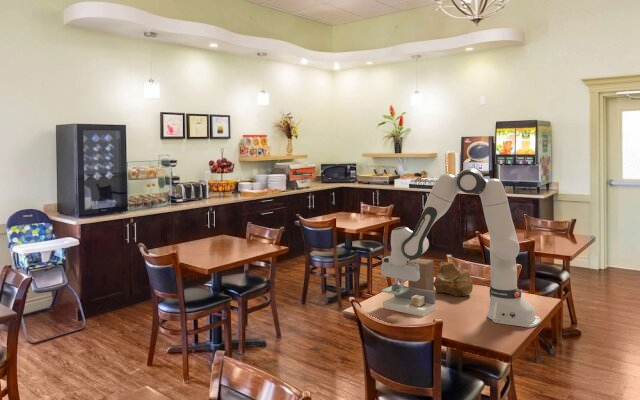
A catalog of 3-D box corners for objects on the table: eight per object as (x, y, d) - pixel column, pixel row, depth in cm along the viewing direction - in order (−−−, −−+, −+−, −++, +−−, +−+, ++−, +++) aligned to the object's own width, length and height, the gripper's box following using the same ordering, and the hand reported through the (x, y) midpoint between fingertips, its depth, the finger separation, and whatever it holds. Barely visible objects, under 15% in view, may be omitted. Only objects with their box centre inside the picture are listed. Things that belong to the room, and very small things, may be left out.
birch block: (424, 310, 237) (424, 296, 236) (419, 313, 234) (419, 298, 233) (416, 308, 240) (415, 294, 239) (411, 311, 236) (411, 297, 236)
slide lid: (409, 290, 244) (409, 282, 243) (399, 295, 236) (399, 287, 235) (392, 286, 250) (392, 279, 250) (381, 291, 242) (381, 284, 242)
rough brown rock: (424, 290, 273) (422, 264, 271) (449, 284, 279) (447, 258, 276) (449, 303, 251) (447, 275, 249) (476, 296, 257) (474, 268, 255)
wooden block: (425, 302, 249) (425, 264, 246) (408, 299, 255) (407, 261, 253) (434, 297, 256) (434, 260, 254) (416, 294, 262) (416, 257, 260)
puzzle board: (435, 309, 237) (435, 291, 236) (423, 316, 228) (423, 297, 227) (395, 301, 252) (395, 284, 251) (383, 307, 242) (382, 290, 241)
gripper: (422, 261, 236) (422, 289, 237) (385, 256, 249) (386, 282, 251) (415, 263, 231) (415, 292, 233) (379, 258, 244) (379, 285, 246)
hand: (400, 287), depth 242 cm, fingers closed
